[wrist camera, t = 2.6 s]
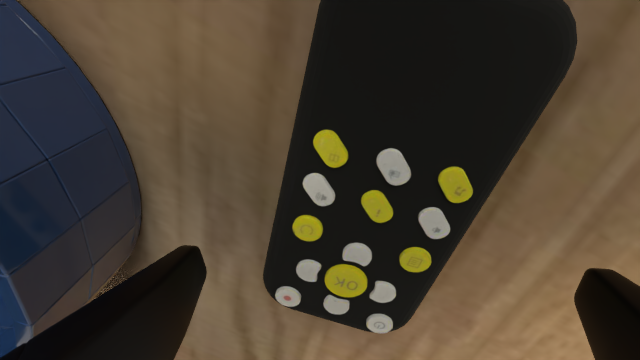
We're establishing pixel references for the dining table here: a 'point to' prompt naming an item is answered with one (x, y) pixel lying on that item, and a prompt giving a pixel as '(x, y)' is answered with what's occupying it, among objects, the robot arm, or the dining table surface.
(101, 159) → the pot
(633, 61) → the dining table surface
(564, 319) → the dining table surface
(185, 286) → the robot arm
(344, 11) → the remote control
